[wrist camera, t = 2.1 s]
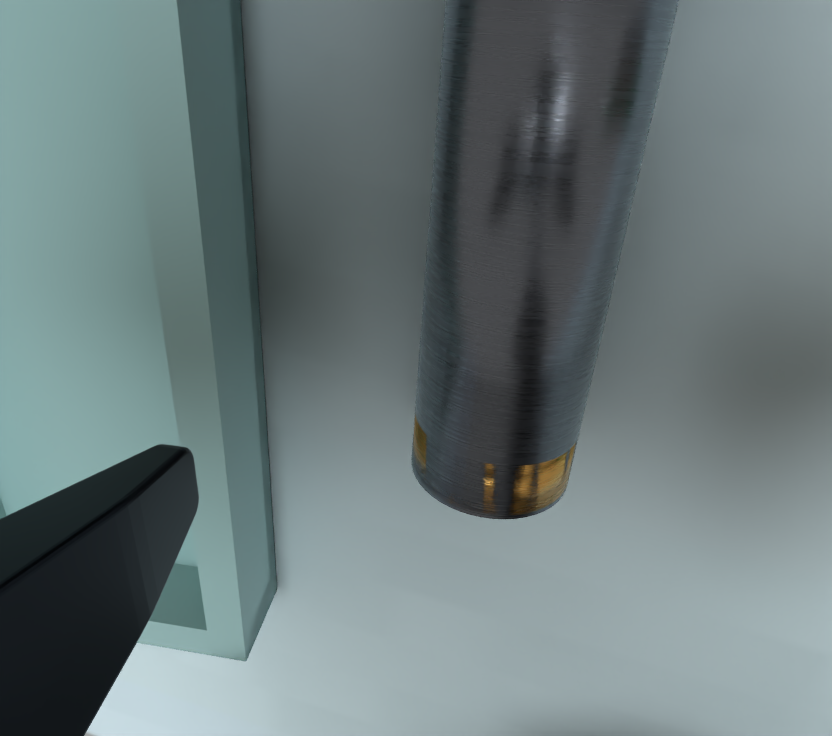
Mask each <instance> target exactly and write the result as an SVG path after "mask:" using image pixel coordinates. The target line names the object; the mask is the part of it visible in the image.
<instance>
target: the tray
mask: <svg viewBox="0 0 832 736" xmlns="http://www.w3.org/2000/svg"><path fill="white" fill-rule="evenodd" d="M158 444H167V445H174V446H181V447H186V448H188V449H190V450H191V452H192V454H193V457H194V463H195V470H196V478H197V485H198V493H199V504H198V509H197V512H196V515H195V517H194V520H193V522H192V524H191V527H190V529H189V531H188V534H187V536H186V538H185V541H184V543H183V545H182V547H181V550H180V552H179V554H178V557H177V559H176V561H175V564H174V566H173V568H172V571H171V573H170V575H169V577H168V580H167V582H166V584H165V587H164V589H163V591H162V594H161V596H160V598H159V600H158V603H157V605H156V607H155V609H154V611H153V613H152V615H151V618H150V619H149V621H148V623H147V625H146V627H145V629H144V631H143V632H142V634H141V636H140V638H139V640H138V641H137V643H142V644H148V645H153V646H159V647H165V648H171V649H177V650H183V651H188V652H194V653H200V654H206V655H212V656H217V657H223V658H229V659H235V660H241V661H246V660H247V658H248V656H249V653H250V651H251V649H252V646H253V644H254V642H255V639H256V637H257V635H258V632H259V630H260V628H261V625H262V623H263V621H264V618H265V616H266V614H267V611H268V609H269V607H270V604H271V602H272V600H273V597H274V595H275V593H276V590H277V581H276V565H275V549H274V533H273V517H272V501H271V485H270V469H269V454H268V438H267V422H266V406H265V390H264V374H263V358H262V342H261V326H260V310H259V294H258V278H257V262H256V246H255V230H254V214H253V198H252V182H251V166H250V150H249V134H248V118H247V103H246V87H245V71H244V55H243V39H242V23H241V7H240V0H0V519H1V518H3V517H5V516H7V515H9V514H11V513H14V512H16V511H18V510H20V509H22V508H24V507H26V506H28V505H31V504H33V503H35V502H37V501H39V500H41V499H43V498H45V497H48V496H50V495H52V494H54V493H56V492H58V491H60V490H62V489H64V488H67V487H69V486H71V485H73V484H75V483H77V482H79V481H81V480H83V479H86V478H88V477H90V476H92V475H94V474H96V473H98V472H100V471H103V470H105V469H107V468H109V467H111V466H113V465H115V464H117V463H119V462H122V461H124V460H126V459H128V458H130V457H132V456H134V455H136V454H138V453H141V452H143V451H145V450H147V449H149V448H151V447H153V446H156V445H158Z"/></svg>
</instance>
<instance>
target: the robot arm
mask: <svg viewBox="0 0 832 736" xmlns="http://www.w3.org/2000/svg"><path fill="white" fill-rule="evenodd" d="M198 504H199V493H198V485H197V478H196V470H195V463H194V457H193V454H192V452H191V450H190V449H188V448H186V447H181V446H174V445H167V444H158V445H156V446H153V447H151V448H149V449H147V450H145V451H143V452H141V453H138V454H136V455H134V456H132V457H130V458H128V459H126V460H124V461H122V462H119V463H117V464H115V465H113V466H111V467H109V468H107V469H105V470H103V471H100V472H98V473H96V474H94V475H92V476H90V477H88V478H86V479H83V480H81V481H79V482H77V483H75V484H73V485H71V486H69V487H67V488H64V489H62V490H60V491H58V492H56V493H54V494H52V495H50V496H48V497H45V498H43V499H41V500H39V501H37V502H35V503H33V504H31V505H28V506H26V507H24V508H22V509H20V510H18V511H16V512H14V513H11V514H9V515H7V516H5V517H3V518H1V519H0V736H84V735H85V733H86V731H87V730H88V728H89V726H90V724H91V723H92V721H93V719H94V717H95V716H96V714H97V712H98V710H99V708H100V707H101V705H102V703H103V701H104V700H105V698H106V696H107V694H108V693H109V691H110V689H111V687H112V686H113V684H114V682H115V680H116V678H117V677H118V675H119V673H120V671H121V670H122V668H123V666H124V664H125V663H126V661H127V659H128V657H129V656H130V654H131V652H132V650H133V648H134V647H135V645H136V643H137V641H138V640H139V638H140V636H141V634H142V632H143V631H144V629H145V627H146V625H147V623H148V621H149V619H150V618H151V615H152V613H153V611H154V609H155V607H156V605H157V603H158V600H159V598H160V596H161V594H162V591H163V589H164V587H165V584H166V582H167V580H168V577H169V575H170V573H171V571H172V568H173V566H174V564H175V561H176V559H177V557H178V554H179V552H180V550H181V547H182V545H183V543H184V541H185V538H186V536H187V534H188V531H189V529H190V527H191V524H192V522H193V520H194V517H195V515H196V512H197V509H198Z"/></svg>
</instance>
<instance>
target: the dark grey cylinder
mask: <svg viewBox="0 0 832 736" xmlns="http://www.w3.org/2000/svg"><path fill="white" fill-rule="evenodd" d="M678 2H679V0H446V7H445V20H444V33H443V47H442V60H441V73H440V87H439V100H438V113H437V127H436V140H435V154H434V167H433V180H432V194H431V207H430V220H429V234H428V247H427V260H426V274H425V287H424V301H423V314H422V327H421V341H420V354H419V367H418V381H417V394H416V407H415V421H414V434H413V448H412V468H413V472H414V474H415V477H416V479H417V480H418V482H419V483H420V485H421V486H422V487H423V488H424V489H425V490H426V491H427V492H428V493H429V494H430V495H431V496H433V497H434V498H435V499H437V500H438V501H440V502H441V503H443V504H445V505H447V506H449V507H451V508H453V509H456V510H458V511H461V512H464V513H467V514H470V515H474V516H479V517H484V518H492V519H516V518H523V517H528V516H532V515H535V514H538V513H540V512H543V511H545V510H547V509H548V508H550V507H552V506H553V505H554V504H556V503H557V502H558V501H559V500H560V498H561V497H562V496H563V494H564V492H565V491H566V487H567V484H568V479H569V475H570V471H571V466H572V462H573V458H574V453H575V449H576V445H577V440H578V436H579V432H580V427H581V423H582V419H583V414H584V410H585V406H586V401H587V397H588V393H589V388H590V384H591V379H592V375H593V371H594V366H595V362H596V358H597V353H598V349H599V345H600V340H601V336H602V332H603V327H604V323H605V319H606V314H607V310H608V306H609V301H610V297H611V293H612V288H613V284H614V280H615V275H616V271H617V267H618V262H619V258H620V254H621V249H622V245H623V241H624V236H625V232H626V228H627V223H628V219H629V215H630V210H631V206H632V201H633V197H634V193H635V188H636V184H637V180H638V175H639V171H640V167H641V162H642V158H643V154H644V149H645V145H646V141H647V136H648V132H649V128H650V123H651V119H652V115H653V110H654V106H655V102H656V97H657V93H658V89H659V84H660V80H661V76H662V71H663V67H664V63H665V58H666V54H667V50H668V45H669V41H670V37H671V32H672V28H673V24H674V19H675V15H676V10H677V6H678Z"/></svg>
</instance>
